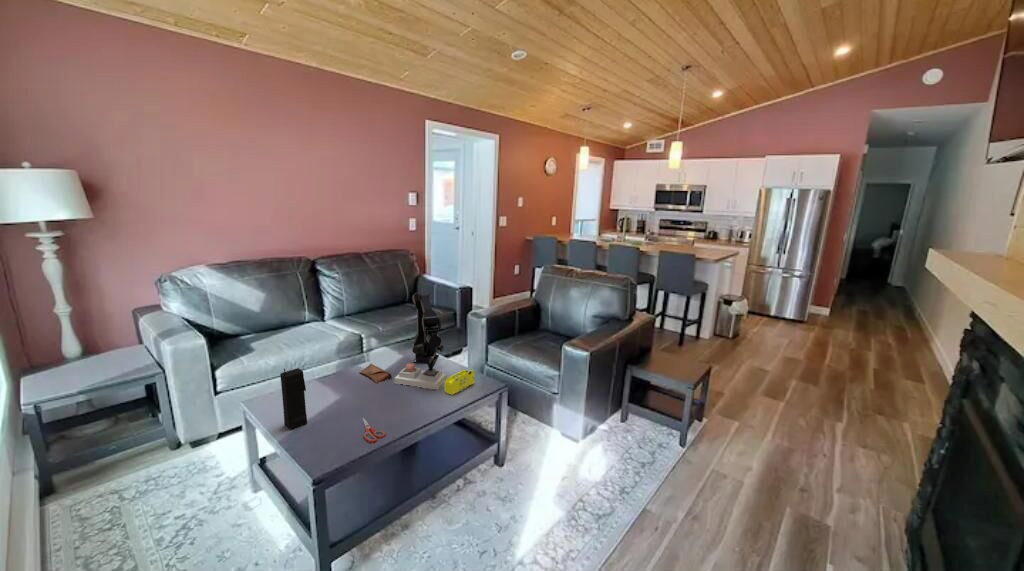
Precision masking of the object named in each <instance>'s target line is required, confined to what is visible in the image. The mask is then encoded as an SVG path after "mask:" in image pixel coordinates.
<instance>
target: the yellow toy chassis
mask: <svg viewBox="0 0 1024 571" xmlns="http://www.w3.org/2000/svg"><path fill="white" fill-rule="evenodd" d="M474 383H475V371H474V370H473V369H470V370H466V369H463V370H461V371H459V372H457V373H455V374H453V375H451V376H449V377H446V380H445V381H444V382H443V384H444V386H443V388H444V389H443V390H444V391H443V392H444V393H447V394H448V395H451V396H454V394H455V393H456V394H457V393H458V392H463V390H466V389H467V387H470V386H471V385H473V384H474ZM469 385H470V386H469Z"/></svg>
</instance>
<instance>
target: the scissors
mask: <svg viewBox="0 0 1024 571" xmlns="http://www.w3.org/2000/svg"><path fill="white" fill-rule="evenodd" d="M362 421H363V424H364V426H365V429H364V430H365V433H364V434H363V439H364V441H365V442H368V443H370V444H373V443H376V442H377V441H378V439H383V438H385V437H386V434H387V433H386V432H385V431H382V430H376V429H374V428H373V427H372V426H370V424H369V423H368V421H367V420H366V419H365V418H364V417H362ZM371 432H372V433H371ZM381 433H382V435H379V434H381ZM368 434H369V435H368ZM367 436H369V437H370V436H371V437H372V438H373V439H372V438H371V437H370V438H371V439H370V438H368V437H367Z"/></svg>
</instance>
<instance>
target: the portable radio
mask: <svg viewBox="0 0 1024 571" xmlns="http://www.w3.org/2000/svg"><path fill="white" fill-rule="evenodd" d="M304 376H305V375H304V371H303V370H302V369H300V368H294V369H290V370H287V371H286V368H283V372H281V373H280V384H281V393H282V394H281V395H282V396H281V397H282V407H283V419H284V422H283V423H284V426H285V427H286V428H288V429H289V430H295V428H296V429H298V428H301V427H303V426H305V425H307V424H308V417H307V410H306V409H307V408H306V397H305V396H306V395H305V392H306V391H307V390H306V382H305V377H304Z"/></svg>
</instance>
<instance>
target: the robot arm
mask: <svg viewBox="0 0 1024 571" xmlns="http://www.w3.org/2000/svg"><path fill="white" fill-rule="evenodd" d="M412 302H413V304H414V306H415V307H416V334H415V336H414V338H413V342H412V345H411V347H412V348H411V351H412V353H413V354H415V358H414V360H416V362H417V363H416V362H415V363H416V364H421V365H427V367H428V369H429V370H430V371H432V370H433V369H434V367H435V365H436V363H437V361H438V358H439V357H440V355H439V354H438V352H440V353H443V352H444V351H445V347H444V345H442V344H441V343H442V338H441V337H440V336H439V333H438V332H440V331H441V329H442V324H441V319H440V317H439V316H438V314H437V312H436V311H434V310H433V308H432V304H431V293H429V292H427V291H426V292H414V294H413V295H412Z"/></svg>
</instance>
